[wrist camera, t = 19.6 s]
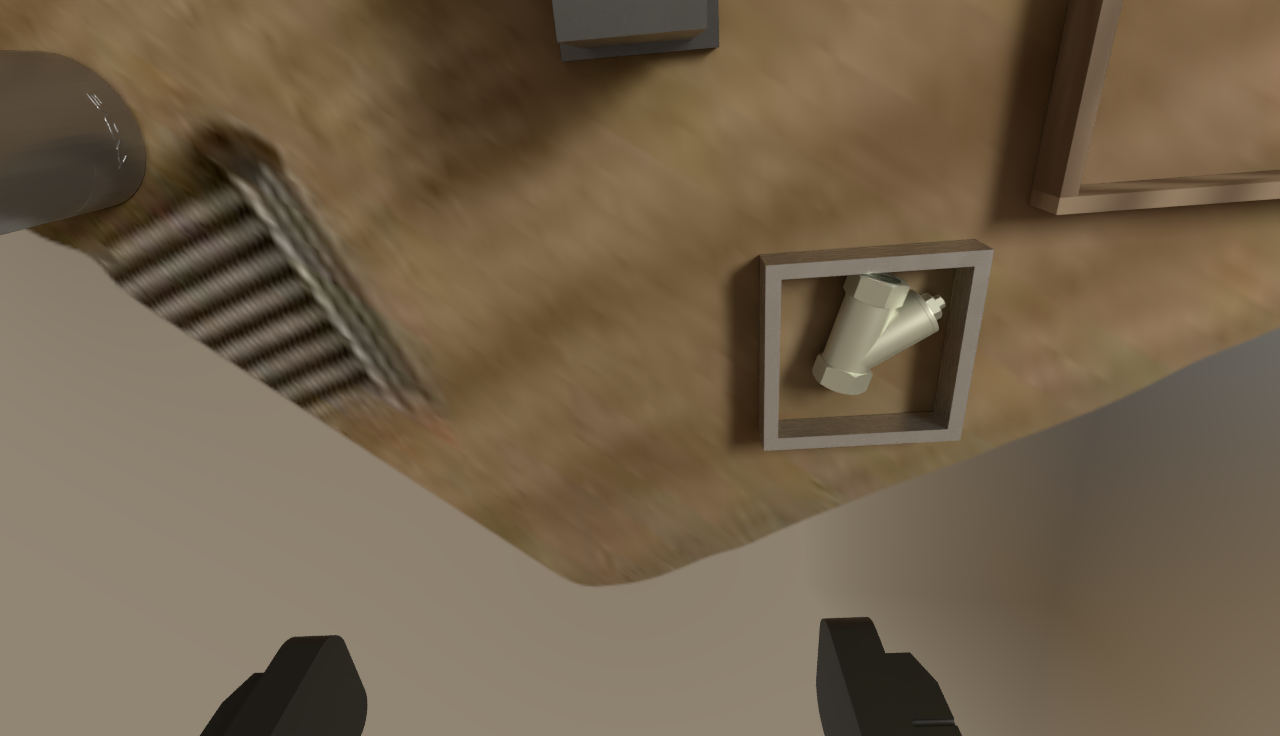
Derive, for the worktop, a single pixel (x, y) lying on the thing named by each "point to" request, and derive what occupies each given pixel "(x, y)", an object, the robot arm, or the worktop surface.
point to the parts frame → (956, 357)
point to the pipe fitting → (873, 329)
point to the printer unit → (633, 27)
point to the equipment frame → (1073, 125)
